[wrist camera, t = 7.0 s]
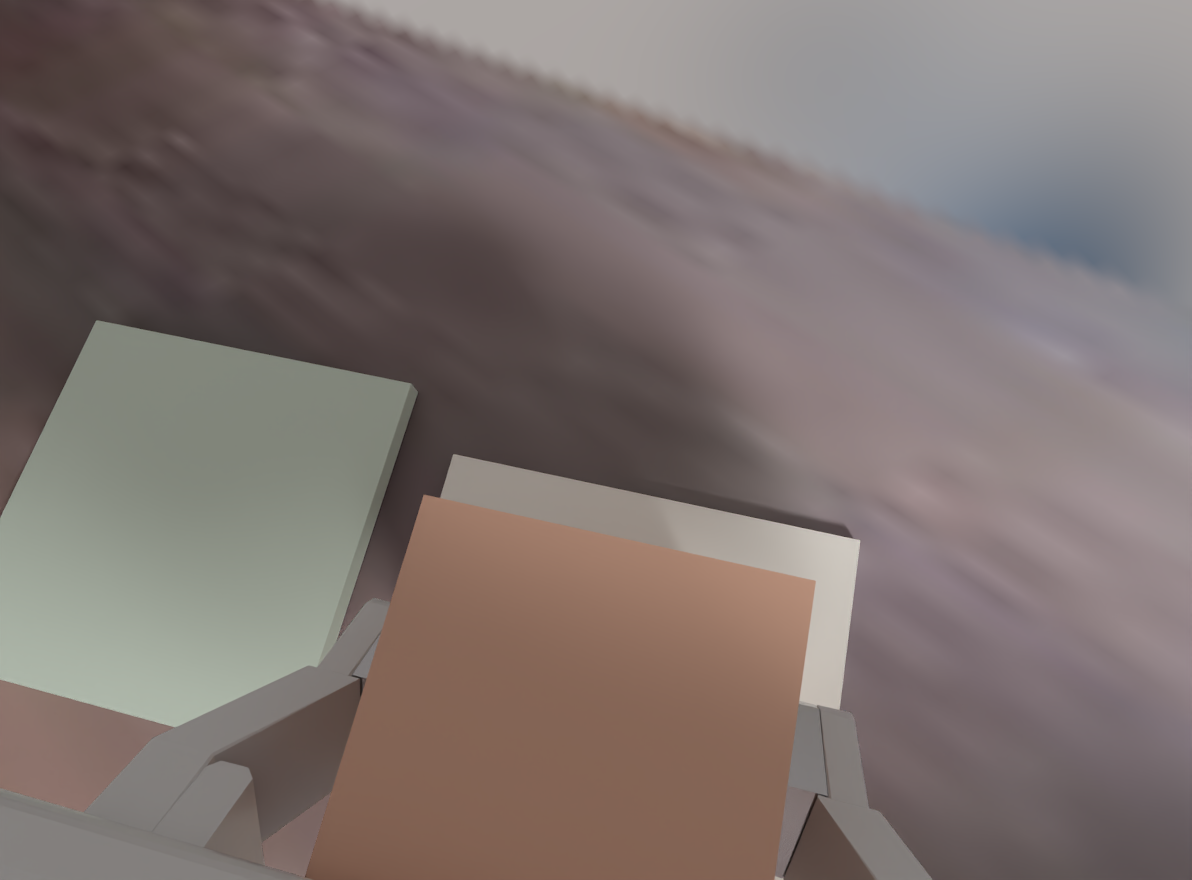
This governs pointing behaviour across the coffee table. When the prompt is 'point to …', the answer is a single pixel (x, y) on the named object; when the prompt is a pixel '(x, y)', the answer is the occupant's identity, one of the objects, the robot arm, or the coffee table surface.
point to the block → (569, 711)
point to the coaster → (190, 522)
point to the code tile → (688, 545)
